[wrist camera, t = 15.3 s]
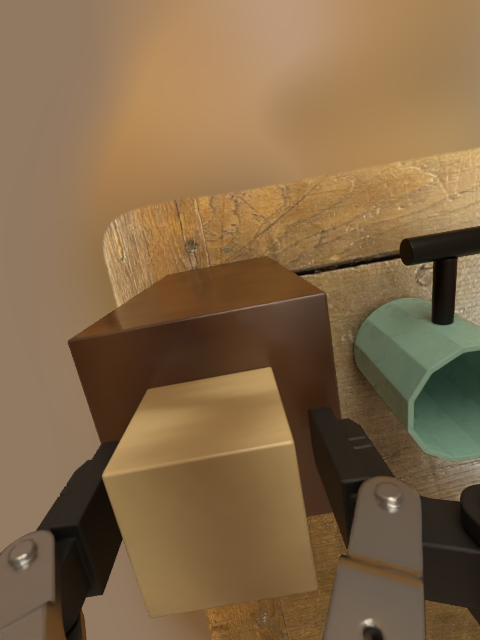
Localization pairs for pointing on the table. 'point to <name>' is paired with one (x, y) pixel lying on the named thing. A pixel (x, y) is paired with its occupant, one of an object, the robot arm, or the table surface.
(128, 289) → the table surface
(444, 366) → the mug
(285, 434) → the block
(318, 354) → the block
